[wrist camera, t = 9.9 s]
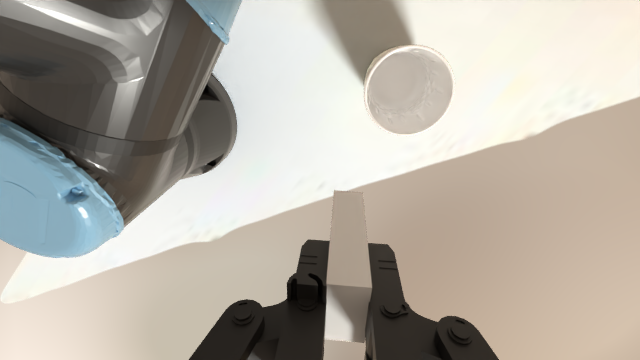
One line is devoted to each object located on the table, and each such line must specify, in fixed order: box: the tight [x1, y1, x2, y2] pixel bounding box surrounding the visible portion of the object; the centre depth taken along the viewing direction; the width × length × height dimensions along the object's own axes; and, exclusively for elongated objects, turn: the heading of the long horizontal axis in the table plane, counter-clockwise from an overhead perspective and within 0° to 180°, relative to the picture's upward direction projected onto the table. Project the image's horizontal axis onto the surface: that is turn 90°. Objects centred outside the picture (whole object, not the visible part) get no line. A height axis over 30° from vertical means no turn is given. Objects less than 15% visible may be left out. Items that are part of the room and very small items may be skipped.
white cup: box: [364, 45, 455, 136], centre depth 31 cm, size 8×8×10 cm
